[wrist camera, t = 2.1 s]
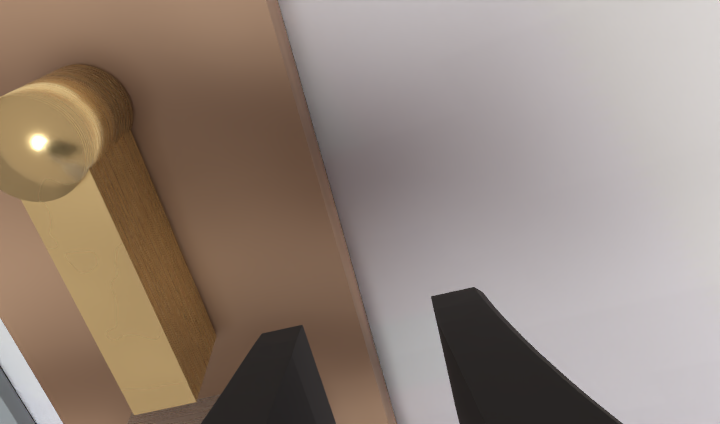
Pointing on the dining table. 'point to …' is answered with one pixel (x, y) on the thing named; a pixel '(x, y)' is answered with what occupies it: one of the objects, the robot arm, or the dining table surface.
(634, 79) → the dining table surface
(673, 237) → the dining table surface
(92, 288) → the lever
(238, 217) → the brown wooden board
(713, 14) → the dining table surface
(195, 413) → the light grey block
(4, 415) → the mat
